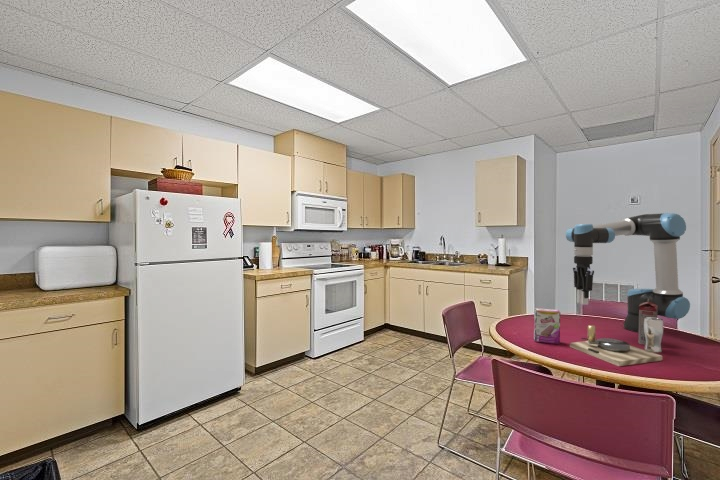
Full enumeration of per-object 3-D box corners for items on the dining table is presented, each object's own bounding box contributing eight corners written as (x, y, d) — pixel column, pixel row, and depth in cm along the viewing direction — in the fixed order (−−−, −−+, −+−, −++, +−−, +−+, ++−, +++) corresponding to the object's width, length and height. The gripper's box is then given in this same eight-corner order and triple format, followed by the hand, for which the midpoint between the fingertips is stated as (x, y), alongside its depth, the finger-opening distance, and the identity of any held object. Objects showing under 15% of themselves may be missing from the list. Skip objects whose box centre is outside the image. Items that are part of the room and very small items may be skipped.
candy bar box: (535, 342, 170) (535, 310, 169) (533, 339, 175) (533, 307, 174) (560, 344, 166) (560, 311, 166) (558, 341, 171) (558, 309, 170)
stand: (609, 342, 169) (609, 337, 169) (662, 360, 146) (662, 354, 145) (569, 347, 163) (569, 341, 163) (618, 366, 140) (618, 359, 140)
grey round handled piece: (623, 344, 159) (624, 325, 158) (634, 353, 147) (634, 332, 147) (578, 340, 165) (578, 321, 165) (584, 348, 154) (584, 328, 154)
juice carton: (638, 343, 167) (639, 299, 166) (639, 340, 172) (640, 297, 171) (656, 346, 162) (657, 301, 162) (656, 343, 167) (657, 299, 167)
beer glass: (666, 353, 153) (667, 320, 153) (649, 352, 155) (649, 320, 154) (656, 348, 160) (657, 316, 160) (639, 347, 162) (640, 316, 161)
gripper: (566, 254, 172) (565, 300, 173) (585, 257, 156) (584, 307, 157) (581, 254, 172) (580, 300, 172) (602, 257, 156) (601, 307, 156)
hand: (582, 303), depth 165 cm, fingers open, 3 cm apart
